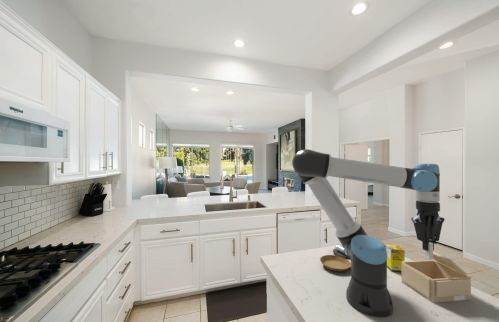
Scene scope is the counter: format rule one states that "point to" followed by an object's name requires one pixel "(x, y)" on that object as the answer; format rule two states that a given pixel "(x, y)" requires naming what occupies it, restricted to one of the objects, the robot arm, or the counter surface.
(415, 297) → the counter surface
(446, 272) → the carton
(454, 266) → the flap
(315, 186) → the robot arm
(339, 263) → the plant saucer
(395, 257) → the supplement box
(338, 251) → the brown slatted round stand
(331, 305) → the counter surface
